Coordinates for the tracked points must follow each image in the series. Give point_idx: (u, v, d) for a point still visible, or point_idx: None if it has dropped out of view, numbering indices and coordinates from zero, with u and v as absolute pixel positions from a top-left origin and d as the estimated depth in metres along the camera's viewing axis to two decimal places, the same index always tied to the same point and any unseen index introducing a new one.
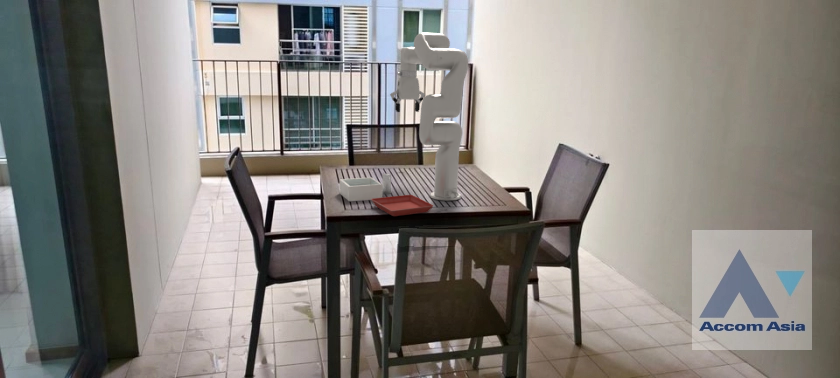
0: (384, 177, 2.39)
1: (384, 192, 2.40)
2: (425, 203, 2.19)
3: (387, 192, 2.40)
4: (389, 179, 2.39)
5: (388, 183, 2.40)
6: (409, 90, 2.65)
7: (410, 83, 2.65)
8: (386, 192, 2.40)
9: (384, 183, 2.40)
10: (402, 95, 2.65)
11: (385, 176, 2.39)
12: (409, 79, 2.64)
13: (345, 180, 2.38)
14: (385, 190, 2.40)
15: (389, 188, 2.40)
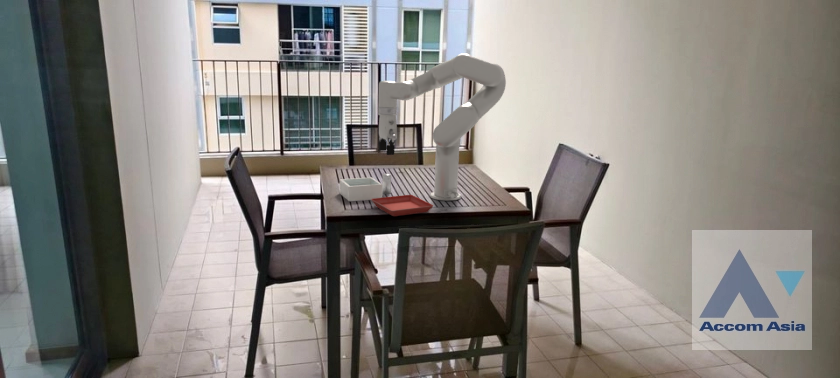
0: (384, 177, 2.39)
1: (384, 192, 2.40)
2: (425, 203, 2.19)
3: (387, 192, 2.40)
4: (389, 179, 2.39)
5: (388, 183, 2.40)
6: None
7: None
8: (386, 192, 2.40)
9: (384, 183, 2.40)
10: None
11: (385, 176, 2.39)
12: None
13: (345, 180, 2.38)
14: (385, 190, 2.40)
15: (389, 188, 2.40)
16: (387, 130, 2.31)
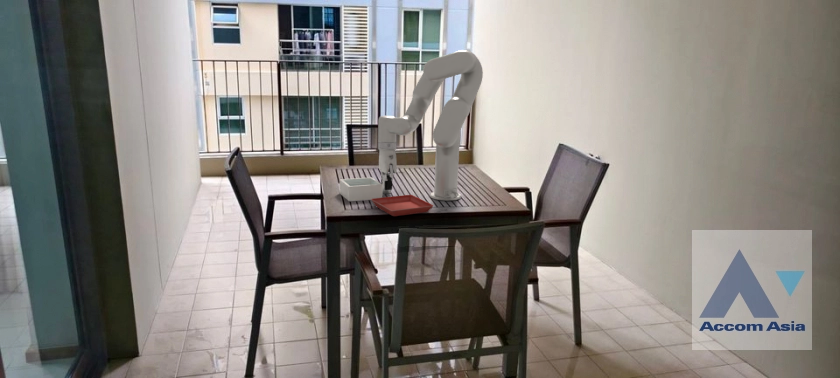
0: (384, 177, 2.39)
1: (384, 192, 2.40)
2: (425, 203, 2.18)
3: (387, 192, 2.40)
4: None
5: None
6: None
7: None
8: (386, 192, 2.40)
9: (384, 183, 2.40)
10: None
11: None
12: None
13: (345, 180, 2.38)
14: (385, 190, 2.40)
15: None
16: (387, 164, 2.34)
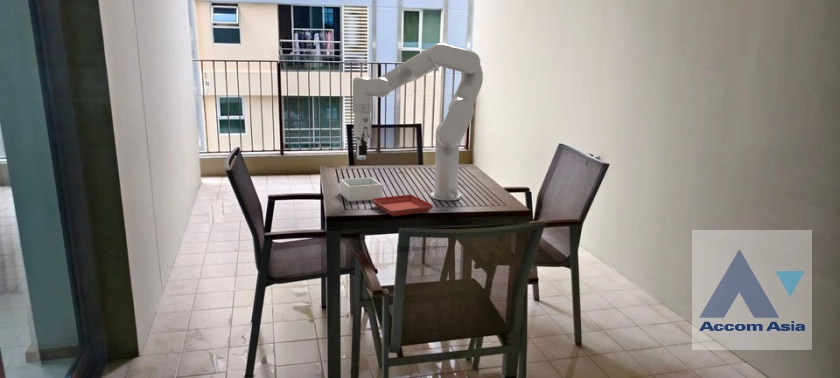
0: (358, 142, 2.29)
1: (358, 157, 2.31)
2: (425, 203, 2.18)
3: (361, 157, 2.31)
4: None
5: None
6: None
7: None
8: (360, 157, 2.31)
9: (358, 148, 2.30)
10: None
11: (359, 141, 2.29)
12: None
13: (345, 180, 2.38)
14: (359, 155, 2.30)
15: None
16: (361, 128, 2.25)
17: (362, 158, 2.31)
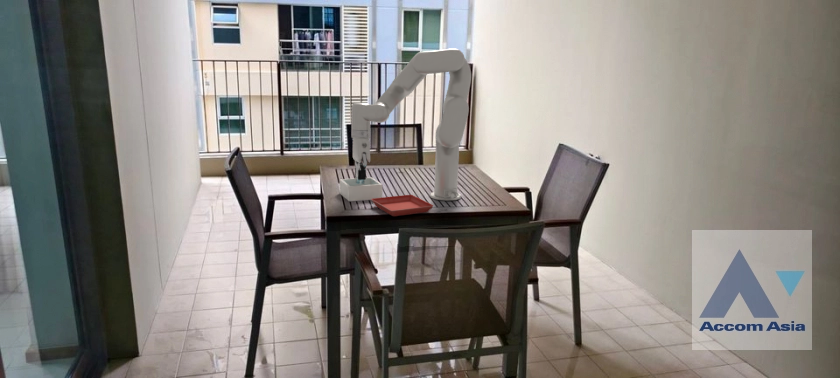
0: (357, 166, 2.31)
1: (357, 182, 2.33)
2: (425, 203, 2.18)
3: (360, 182, 2.33)
4: None
5: None
6: None
7: None
8: (359, 182, 2.33)
9: (357, 172, 2.32)
10: None
11: (358, 165, 2.31)
12: None
13: (345, 180, 2.38)
14: (358, 180, 2.32)
15: None
16: (360, 153, 2.27)
17: (361, 182, 2.33)
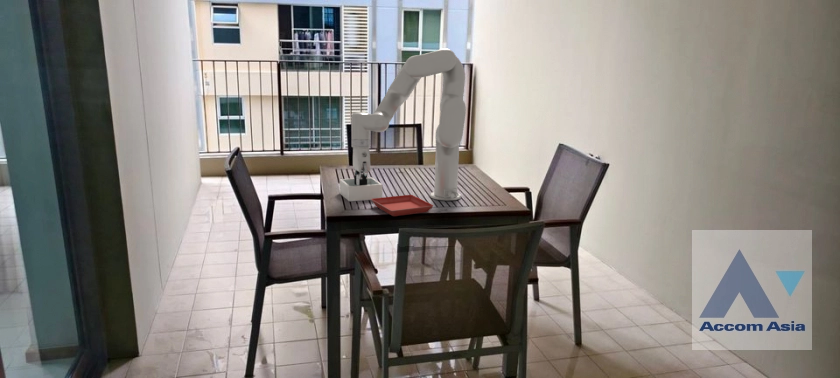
0: (358, 177, 2.32)
1: None
2: (425, 203, 2.18)
3: None
4: None
5: None
6: None
7: None
8: None
9: (358, 183, 2.33)
10: None
11: (359, 176, 2.32)
12: None
13: (345, 180, 2.38)
14: None
15: None
16: (360, 162, 2.27)
17: None
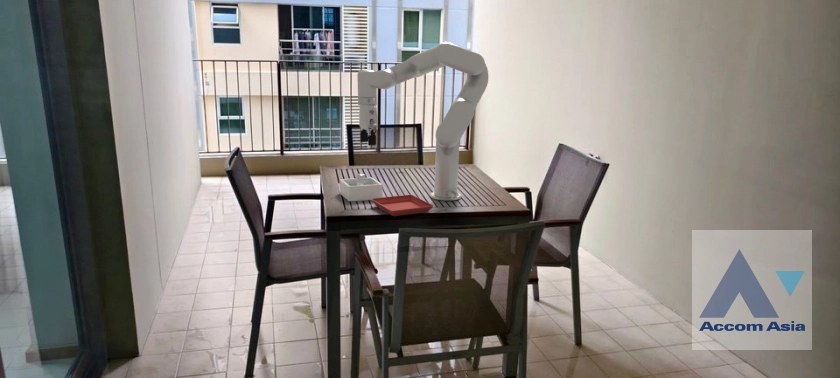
0: (358, 177, 2.33)
1: None
2: (425, 203, 2.18)
3: None
4: (362, 180, 2.33)
5: (362, 183, 2.33)
6: None
7: None
8: None
9: (358, 183, 2.33)
10: None
11: (359, 176, 2.32)
12: None
13: (345, 180, 2.38)
14: None
15: None
16: (368, 120, 2.27)
17: None
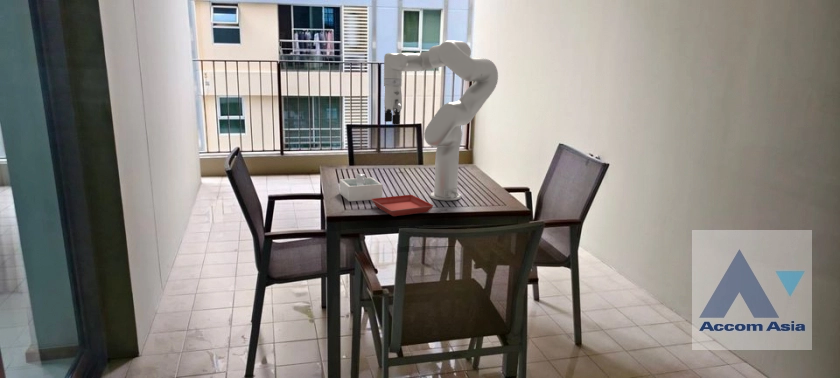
0: (358, 177, 2.32)
1: None
2: (425, 203, 2.18)
3: None
4: (362, 180, 2.33)
5: (362, 183, 2.33)
6: None
7: None
8: None
9: (358, 183, 2.33)
10: None
11: (359, 176, 2.32)
12: None
13: (345, 180, 2.38)
14: None
15: None
16: (393, 100, 2.40)
17: None
